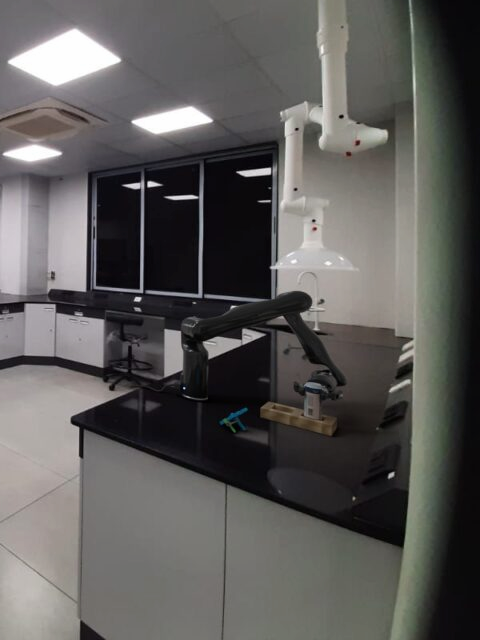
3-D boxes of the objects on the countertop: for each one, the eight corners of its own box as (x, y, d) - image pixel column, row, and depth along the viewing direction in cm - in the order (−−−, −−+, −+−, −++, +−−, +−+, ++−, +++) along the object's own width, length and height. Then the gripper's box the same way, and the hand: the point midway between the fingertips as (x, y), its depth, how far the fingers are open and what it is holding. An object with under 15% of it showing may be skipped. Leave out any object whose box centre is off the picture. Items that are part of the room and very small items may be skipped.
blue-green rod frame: (229, 415, 143) (250, 402, 136) (242, 431, 140) (264, 419, 133) (210, 424, 138) (230, 412, 131) (223, 441, 135) (245, 429, 128)
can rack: (260, 417, 147) (260, 407, 147) (268, 410, 154) (268, 401, 154) (331, 436, 132) (331, 425, 132) (336, 427, 139) (337, 417, 139)
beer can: (325, 421, 137) (326, 386, 137) (309, 419, 138) (310, 385, 138) (315, 416, 142) (317, 382, 142) (300, 414, 143) (301, 381, 143)
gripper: (296, 371, 154) (286, 379, 143) (347, 380, 144) (340, 390, 132) (296, 390, 154) (285, 400, 143) (346, 401, 144) (339, 412, 133)
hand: (311, 395), depth 138 cm, fingers closed on beer can, 4 cm apart
